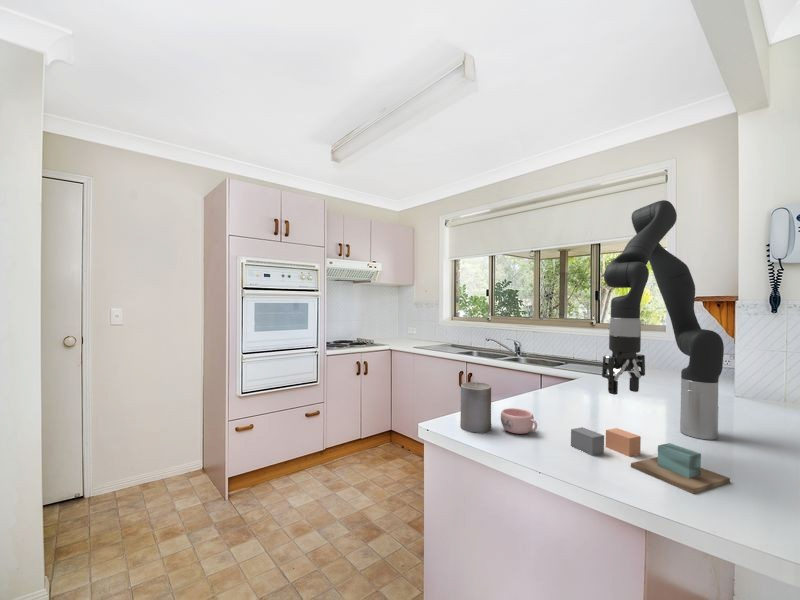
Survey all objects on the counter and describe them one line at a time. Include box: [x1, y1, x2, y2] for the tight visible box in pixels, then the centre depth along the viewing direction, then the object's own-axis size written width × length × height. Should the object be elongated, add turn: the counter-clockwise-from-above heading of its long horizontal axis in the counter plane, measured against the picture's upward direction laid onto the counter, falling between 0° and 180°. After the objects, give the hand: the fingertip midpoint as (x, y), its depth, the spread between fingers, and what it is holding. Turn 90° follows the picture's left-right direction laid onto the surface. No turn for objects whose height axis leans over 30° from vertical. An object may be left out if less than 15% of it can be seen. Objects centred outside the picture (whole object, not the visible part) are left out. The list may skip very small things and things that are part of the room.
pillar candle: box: [459, 381, 492, 434], centre depth 121 cm, size 10×10×15 cm
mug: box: [500, 407, 538, 435], centre depth 118 cm, size 12×10×6 cm
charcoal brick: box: [570, 427, 605, 457], centre depth 105 cm, size 4×7×5 cm, turn 24°
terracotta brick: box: [605, 427, 642, 457], centre depth 105 cm, size 4×7×5 cm, turn 24°
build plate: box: [630, 442, 731, 495], centre depth 91 cm, size 14×14×6 cm
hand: (623, 392), depth 105 cm, fingers open, 8 cm apart
